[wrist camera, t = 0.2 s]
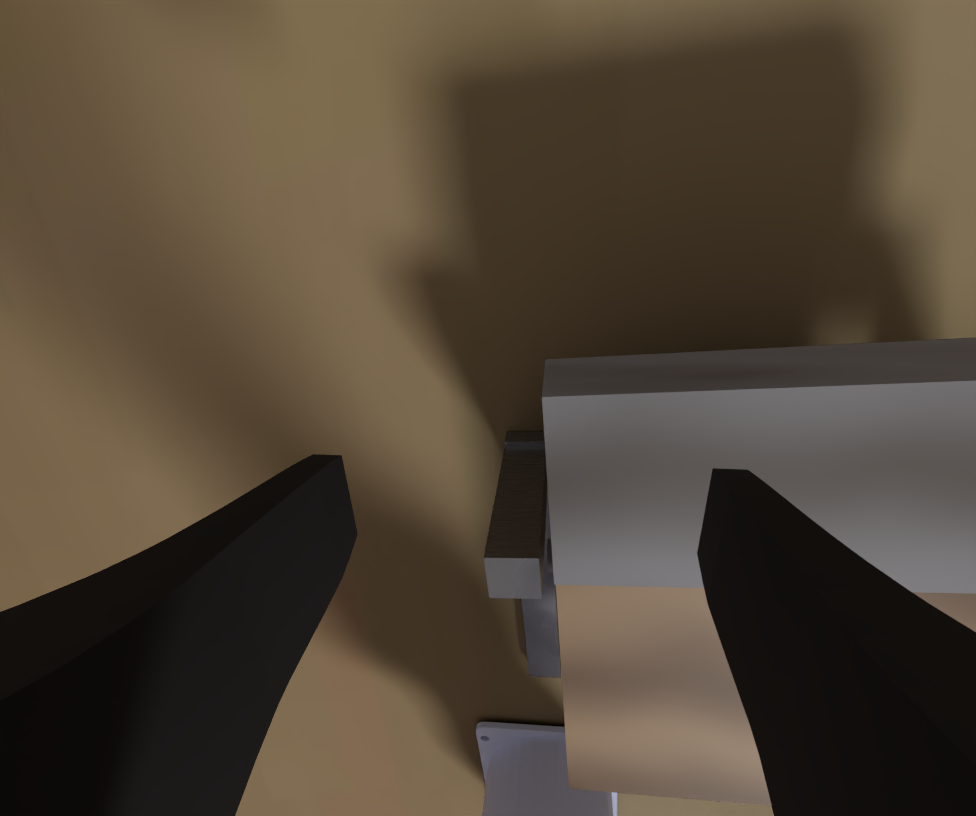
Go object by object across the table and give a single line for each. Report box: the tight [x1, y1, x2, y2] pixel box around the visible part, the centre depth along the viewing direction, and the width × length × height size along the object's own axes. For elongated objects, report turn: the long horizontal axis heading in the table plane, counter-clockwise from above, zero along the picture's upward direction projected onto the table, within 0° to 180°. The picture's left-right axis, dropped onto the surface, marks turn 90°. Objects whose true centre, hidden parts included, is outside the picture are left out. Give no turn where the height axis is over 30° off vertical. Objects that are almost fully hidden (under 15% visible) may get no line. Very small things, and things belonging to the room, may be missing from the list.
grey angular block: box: [484, 431, 561, 678], centre depth 20 cm, size 14×16×7 cm
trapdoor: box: [542, 338, 976, 806], centre depth 16 cm, size 18×12×2 cm
